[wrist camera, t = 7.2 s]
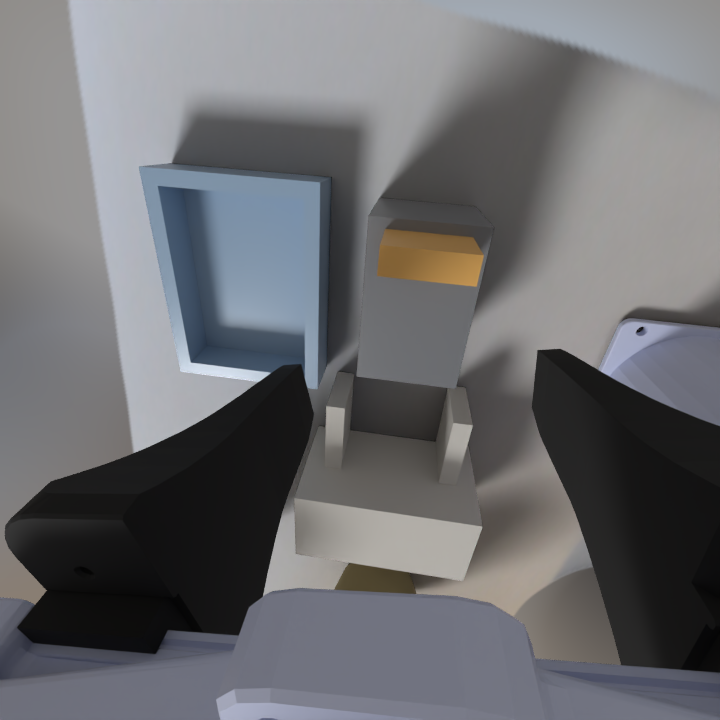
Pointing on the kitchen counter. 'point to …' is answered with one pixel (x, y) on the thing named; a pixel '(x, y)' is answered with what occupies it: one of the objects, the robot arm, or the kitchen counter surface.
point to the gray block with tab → (420, 290)
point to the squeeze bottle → (375, 580)
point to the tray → (243, 267)
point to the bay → (390, 493)
